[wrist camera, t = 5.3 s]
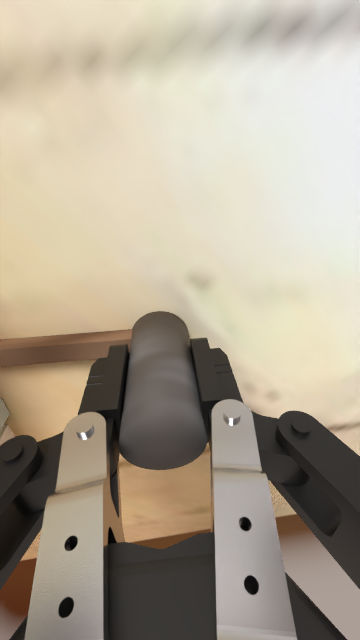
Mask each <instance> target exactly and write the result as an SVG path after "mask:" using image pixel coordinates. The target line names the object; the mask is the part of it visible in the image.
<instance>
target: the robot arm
mask: <svg viewBox="0 0 360 640" xmlns="http://www.w3.org/2000/svg"><path fill="white" fill-rule="evenodd" d="M190 348H191V354H192V360H193V365H194V371H195V377H196V383H197V388H198V394H199V400H200V405H201V411H202V417H203V420H204V425H205V431H206V437H207V443H208V442H209V447H210V452H211V457H210V466H211V532H210V533H201V534H197V535H195V536H193V537H190V538H188V539H186V540H183V541H181V542H179V543H177V544H174V545H172V546H170V547H168V548H166V549H155V548H150V547H146V546H141V545H137V544H132V543H127V542H125V539H124V533H123V526H122V515H121V496H120V477H119V466H118V462H119V453H120V451H119V446H118V445H119V435H120V427H121V419H122V410H123V402H124V394H125V385H126V377H127V369H128V360H129V348H128V345H127V344H122V345H110V347H109V352H108V356H107V357H105V358H98V359H97V360H96V362H95V363H94V364H93V365H92V366H91V370H90V373H89V378H88V380H87V386H86V388H85V391H84V395H83V398H82V402H81V405H80V409H79V412H78V416H76V417H75V418H73V419H72V420H71V421H70V422H69V423H68V424H67V426H66V427H65V429H64V431H63V432H62V433H60V434H58V435H56V436H53V437H50V438H48V439H45V440H42V441H40V442H36V440H35V439H34V438H33V437H31V436H28V435H21V436H16V437H14V438H11V439H9V440H7V441H6V442H4V443H3V444H1V445H0V590H1V588H2V587H3V585H4V584H5V582H6V581H7V579H8V578H9V576H10V575H11V573H12V572H13V570H14V569H15V567H16V566H17V564H18V563H19V561H20V560H21V558H22V557H23V555H24V554H25V552H26V551H27V549H28V548H29V546H30V545H31V543H32V542H33V540H34V539H35V537H36V536H37V534H38V533H39V531H40V530H41V528H42V531H41V537H40V543H39V550H38V556H37V564H36V569H35V576H34V582H33V588H32V594H31V601H30V608H29V614H28V615H27V617H26V618H25V619H24V621H23V622H22V623H21V625H20V626H19V627H18V629H17V630H16V632H15V633H14V634H13V636H12V637H11V638H10V640H347V639H346V638H345V637H344V636H343V635H342V634H341V632H339V630H338V629H337V628H336V627H335V626H334V625H333V624H332V623H331V621H330V620H329V619H328V618H327V617H326V616H325V615H324V614H323V613H322V612H321V611H320V609H319V608H318V607H317V606H316V605H315V604H314V603H313V602H312V601H311V600H310V599H309V597H308V596H307V595H306V594H305V593H304V592H303V591H302V590H301V589H300V588H299V586H298V585H296V583H295V582H294V581H293V580H292V579H291V578H290V577H289V576H288V574H287V573H286V572H285V570H284V565H283V559H282V554H281V549H280V543H279V538H278V532H277V526H276V521H275V515H274V510H273V504H272V499H271V493H270V488H269V483H268V480H270V481H271V482H272V484H273V485H274V486H275V487H276V489H277V490H278V491H279V492H280V494H281V495H282V496H283V497H284V498H285V500H286V501H287V502H288V503H289V504H290V506H291V507H292V508H293V509H294V510H295V512H296V513H297V514H298V515H299V517H300V518H301V519H302V520H303V521H304V523H305V524H306V525H307V526H308V527H309V528H310V530H311V531H312V532H313V533H314V535H315V536H316V537H317V538H318V539H319V541H320V542H321V543H322V544H323V545H324V547H325V548H326V549H327V550H328V552H329V553H330V554H331V555H332V556H333V558H334V559H335V560H336V561H337V562H338V563H339V565H340V566H341V567H342V569H343V570H344V571H345V572H346V573H347V575H348V576H349V577H350V578H351V579H352V581H353V582H354V583H355V584H356V585H357V587H358V588H359V589H360V456H359V455H357V454H356V453H355V452H354V451H353V450H351V449H350V448H349V447H348V446H347V445H346V444H344V443H343V442H342V441H341V440H340V439H338V438H337V437H336V436H335V435H334V434H333V433H331V432H330V431H329V430H328V429H327V428H325V427H324V426H323V425H322V424H321V423H319V422H318V421H317V420H316V419H315V418H313V417H312V416H310V415H309V414H306V413H304V412H300V411H288V412H285V413H284V414H282V415H281V416H280V418H279V419H277V418H272V417H266V416H262V415H259V414H256V413H254V412H253V411H251V410H250V409H249V408H248V407H247V406H246V405H245V404H244V403H243V401H242V398H241V395H240V392H239V389H238V386H237V383H236V381H235V378H234V375H233V373H232V369H231V366H230V363H229V360H228V357H227V355H226V354H225V353H224V352H223V351H222V350H221V349H220V348H214V349H210V347H209V344H208V340H207V338H197V339H190Z"/></svg>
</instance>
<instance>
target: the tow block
mask: <svg viewBox="0 0 360 640" xmlns="http://www.w3.org/2000/svg"><path fill="white" fill-rule="evenodd" d="M122 344H127V345H128V348H129V360H128V369H127V377H126V385H125V394H124V402H123V410H122V419H121V427H120V435H119V445H118V446H119V451H120V453H121V455H122V456H123V457H124V458H125V459H126V460H127V461H128V462H130V463H131V464H133V465H136V466H138V467H141V468H145V469H152V470H167V469H173V468H178V467H181V466H184V465H186V464H188V463H190V462H192V461H194V460H195V459H197V458H198V457H199V456H200V455H201V454H202V453H203V451H204V450H205V448H206V445H207V437H206V431H205V425H204V420H203V417H202V411H201V405H200V400H199V394H198V388H197V383H196V377H195V371H194V365H193V360H192V354H191V348H190V341H189V335H188V330H187V327H186V325H185V323H184V322H183V321H182V319H180V318H179V317H178V316H176V315H174V314H172V313H169V312H162V311H159V312H152V313H149V314H146V315H144V316H143V317H141V318H140V319H139V320H138V321H137V322H136V323H135V325H134V327H133V329H132V330H119V331H107V332H94V333H81V334H69V335H56V336H43V337H31V338H18V339H6V340H0V367H6V366H18V365H30V364H42V363H54V362H66V361H78V360H90V359H98V358H105V357H107V356H108V352H109V347H110V345H122Z"/></svg>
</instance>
